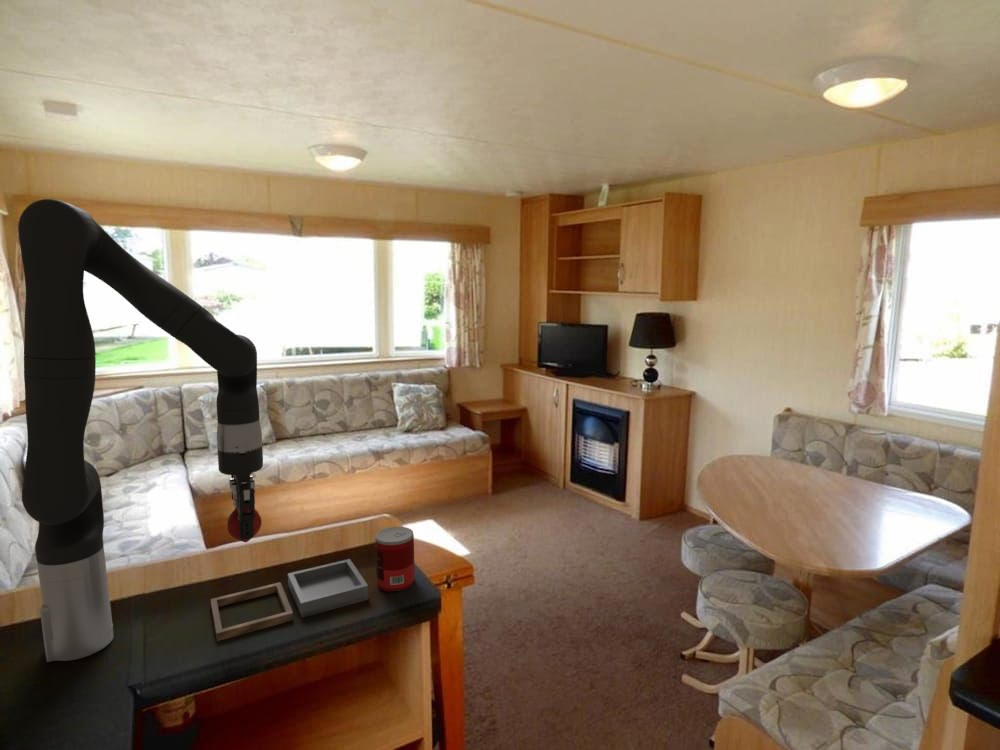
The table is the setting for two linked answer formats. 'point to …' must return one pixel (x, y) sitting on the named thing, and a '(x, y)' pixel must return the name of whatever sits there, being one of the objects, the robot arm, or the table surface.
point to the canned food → (394, 558)
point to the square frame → (254, 624)
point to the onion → (234, 524)
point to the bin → (327, 587)
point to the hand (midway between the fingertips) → (244, 531)
